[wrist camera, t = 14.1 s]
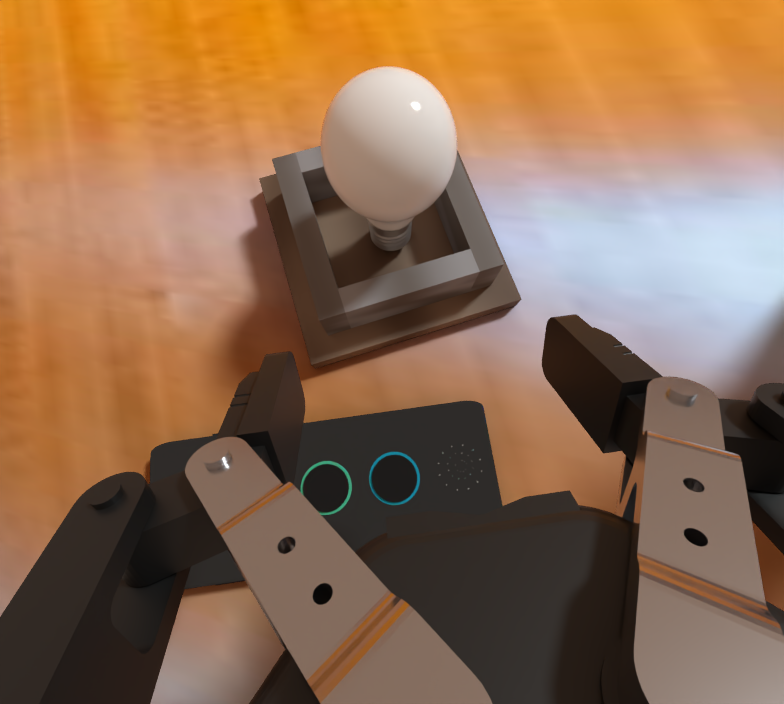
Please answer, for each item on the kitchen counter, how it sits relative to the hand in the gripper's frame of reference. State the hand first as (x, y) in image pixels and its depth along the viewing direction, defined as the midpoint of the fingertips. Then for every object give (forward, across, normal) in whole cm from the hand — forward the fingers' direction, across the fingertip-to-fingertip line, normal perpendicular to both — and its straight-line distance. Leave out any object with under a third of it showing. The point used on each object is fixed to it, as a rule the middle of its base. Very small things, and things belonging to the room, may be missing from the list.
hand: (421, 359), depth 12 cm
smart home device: (+6, +6, +13) cm, 15 cm away
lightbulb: (+16, 0, 0) cm, 16 cm away
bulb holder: (+17, 0, +1) cm, 17 cm away
